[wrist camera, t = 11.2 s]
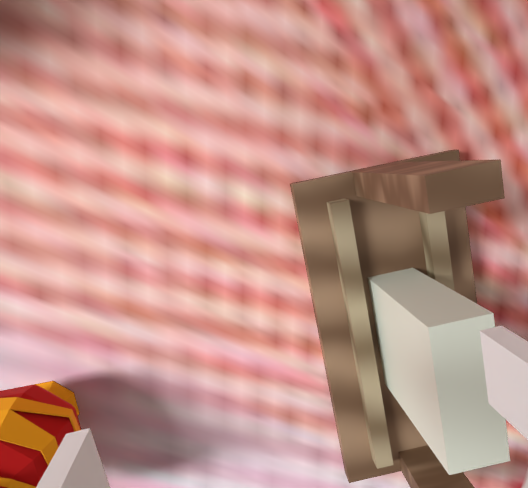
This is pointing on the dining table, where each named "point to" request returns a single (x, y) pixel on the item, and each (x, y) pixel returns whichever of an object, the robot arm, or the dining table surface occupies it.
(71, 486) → the robot arm
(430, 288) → the cream rectangular block
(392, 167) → the wooden rack
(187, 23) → the dining table surface
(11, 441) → the potion bottle
